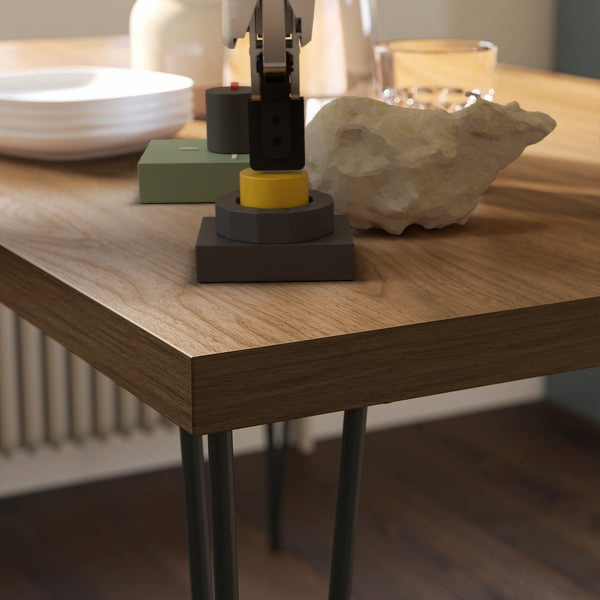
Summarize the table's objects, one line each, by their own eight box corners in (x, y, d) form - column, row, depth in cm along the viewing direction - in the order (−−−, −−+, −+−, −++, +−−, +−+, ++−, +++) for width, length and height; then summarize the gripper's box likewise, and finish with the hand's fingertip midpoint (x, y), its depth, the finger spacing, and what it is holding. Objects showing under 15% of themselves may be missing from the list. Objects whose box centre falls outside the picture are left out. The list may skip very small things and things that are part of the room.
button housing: (196, 282, 67) (193, 214, 66) (203, 250, 74) (201, 187, 72) (354, 280, 67) (354, 212, 66) (347, 248, 74) (347, 185, 73)
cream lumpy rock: (253, 258, 79) (362, 142, 67) (253, 166, 82) (356, 40, 70) (446, 300, 85) (576, 200, 73) (438, 213, 89) (562, 104, 77)
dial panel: (139, 203, 86) (137, 160, 85) (153, 176, 96) (151, 137, 95) (330, 200, 87) (329, 158, 86) (324, 173, 96) (324, 135, 95)
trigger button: (239, 214, 67) (238, 179, 67) (241, 198, 71) (240, 165, 70) (309, 213, 67) (309, 177, 67) (307, 197, 71) (307, 164, 71)
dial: (264, 153, 88) (263, 89, 87) (205, 154, 88) (203, 90, 87) (264, 143, 92) (263, 81, 91) (208, 144, 92) (206, 82, 91)
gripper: (206, -160, 70) (219, 146, 76) (189, -182, 56) (205, 197, 61) (332, -162, 70) (335, 144, 76) (347, -185, 56) (349, 194, 61)
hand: (277, 167), depth 69 cm, fingers closed
